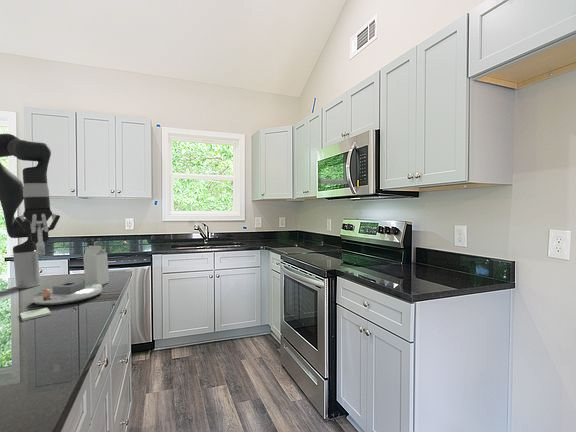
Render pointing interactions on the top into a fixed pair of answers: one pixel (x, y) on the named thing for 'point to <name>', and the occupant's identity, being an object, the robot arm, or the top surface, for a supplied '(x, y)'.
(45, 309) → the pad
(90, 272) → the milk carton
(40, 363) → the top surface
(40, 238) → the metal pin
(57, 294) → the light grey disc
